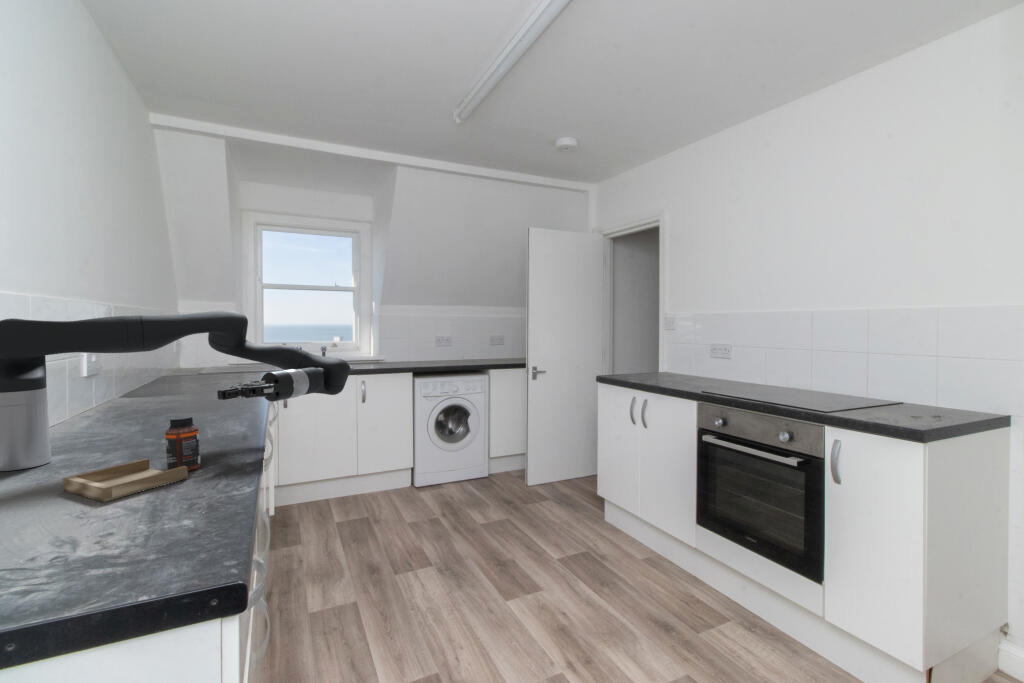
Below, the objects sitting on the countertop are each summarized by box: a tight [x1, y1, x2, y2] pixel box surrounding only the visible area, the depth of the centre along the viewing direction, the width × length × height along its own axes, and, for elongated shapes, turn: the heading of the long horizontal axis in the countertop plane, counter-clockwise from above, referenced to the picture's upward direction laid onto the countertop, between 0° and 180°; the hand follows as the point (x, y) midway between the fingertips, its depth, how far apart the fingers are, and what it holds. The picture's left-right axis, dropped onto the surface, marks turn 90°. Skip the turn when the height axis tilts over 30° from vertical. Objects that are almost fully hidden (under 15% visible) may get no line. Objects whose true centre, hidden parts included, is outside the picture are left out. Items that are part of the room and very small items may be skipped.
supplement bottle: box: [164, 415, 201, 472], centre depth 105 cm, size 6×6×11 cm
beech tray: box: [62, 458, 189, 503], centre depth 95 cm, size 15×14×2 cm
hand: (219, 395), depth 111 cm, fingers closed
